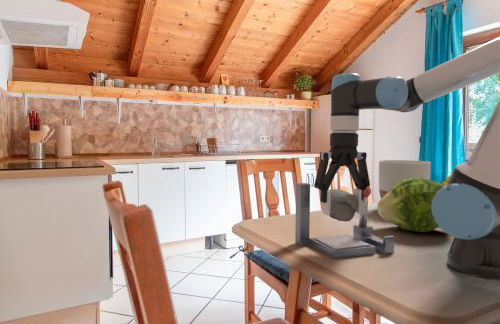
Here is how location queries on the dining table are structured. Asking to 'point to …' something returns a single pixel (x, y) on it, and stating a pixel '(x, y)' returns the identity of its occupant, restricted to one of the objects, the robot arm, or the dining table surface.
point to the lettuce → (410, 204)
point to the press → (340, 243)
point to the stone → (342, 205)
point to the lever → (364, 216)
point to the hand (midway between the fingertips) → (341, 213)
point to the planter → (400, 172)
